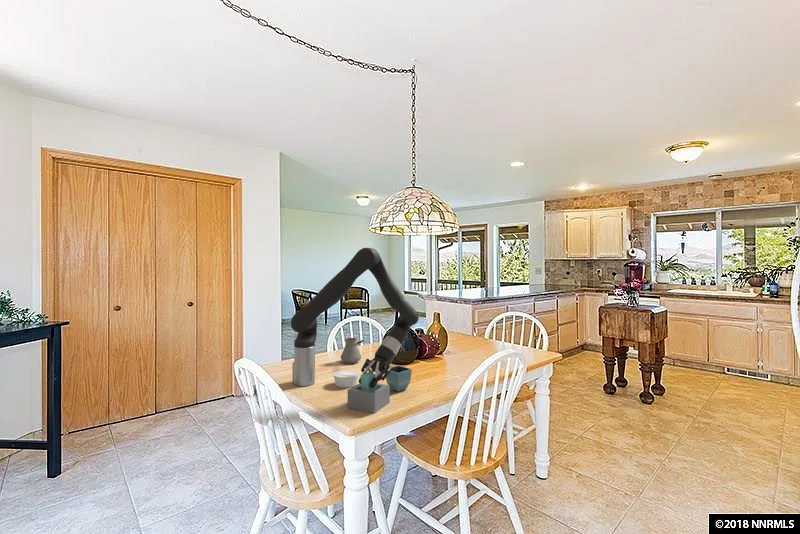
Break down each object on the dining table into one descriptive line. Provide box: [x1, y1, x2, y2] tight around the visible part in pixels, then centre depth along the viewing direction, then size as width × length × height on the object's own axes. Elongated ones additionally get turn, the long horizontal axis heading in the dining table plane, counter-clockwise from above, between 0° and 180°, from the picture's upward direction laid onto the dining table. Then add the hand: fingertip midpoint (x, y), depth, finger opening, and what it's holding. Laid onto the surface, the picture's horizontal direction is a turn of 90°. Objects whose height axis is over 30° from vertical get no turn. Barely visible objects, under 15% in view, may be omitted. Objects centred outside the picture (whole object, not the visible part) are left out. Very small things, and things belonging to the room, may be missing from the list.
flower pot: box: [385, 365, 413, 392], centre depth 172 cm, size 9×9×9 cm
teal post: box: [360, 371, 377, 392], centre depth 153 cm, size 4×4×11 cm
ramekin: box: [333, 369, 359, 389], centre depth 178 cm, size 11×11×5 cm
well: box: [346, 382, 391, 414], centre depth 153 cm, size 12×12×7 cm
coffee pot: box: [340, 337, 366, 365], centre depth 212 cm, size 21×12×15 cm, turn 32°
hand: (365, 385), depth 152 cm, fingers open, 6 cm apart
